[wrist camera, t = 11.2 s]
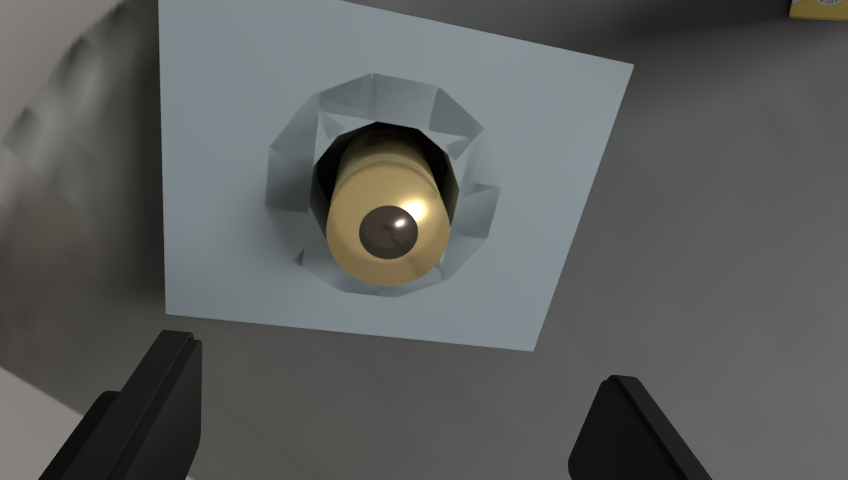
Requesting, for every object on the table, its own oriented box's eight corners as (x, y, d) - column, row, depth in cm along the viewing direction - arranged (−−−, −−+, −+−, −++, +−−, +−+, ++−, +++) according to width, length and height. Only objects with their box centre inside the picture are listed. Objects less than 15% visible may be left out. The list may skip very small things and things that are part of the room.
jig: (596, 57, 25) (634, 64, 22) (514, 312, 32) (533, 351, 28) (192, -31, 22) (157, -40, 18) (191, 275, 28) (165, 314, 25)
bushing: (436, 137, 26) (461, 184, 19) (419, 221, 28) (436, 292, 21) (344, 121, 25) (333, 164, 18) (333, 208, 27) (319, 279, 20)
